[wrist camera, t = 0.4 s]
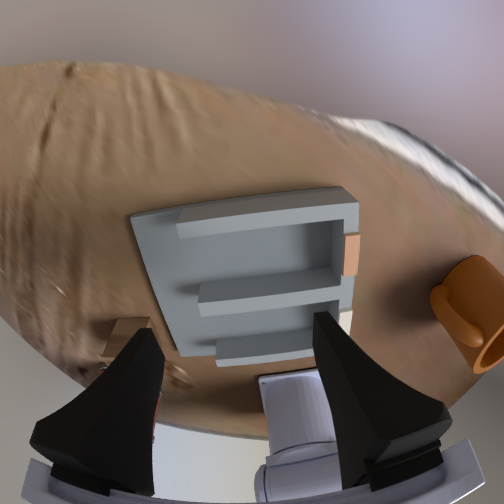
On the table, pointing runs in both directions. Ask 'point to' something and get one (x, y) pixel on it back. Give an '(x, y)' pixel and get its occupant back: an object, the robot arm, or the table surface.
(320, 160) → the table surface
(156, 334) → the plug
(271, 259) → the socket board
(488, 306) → the mug
